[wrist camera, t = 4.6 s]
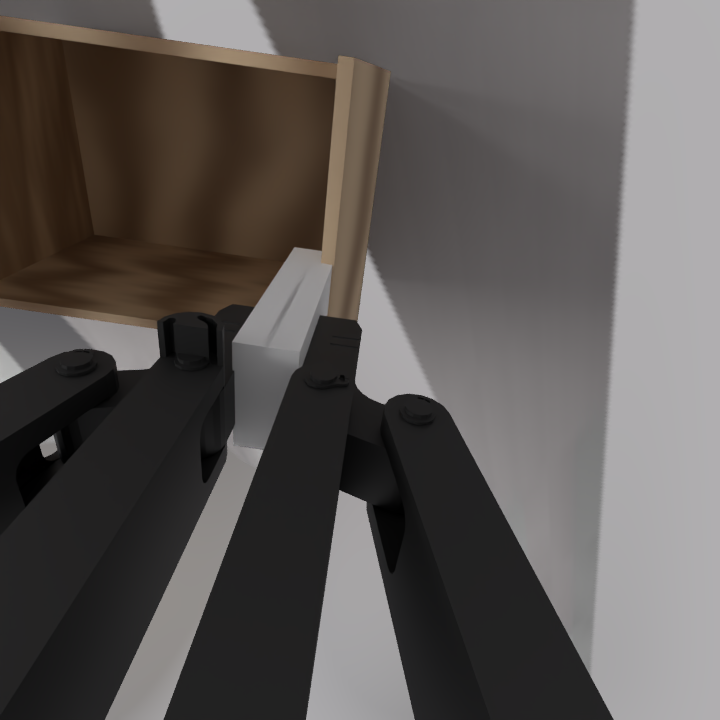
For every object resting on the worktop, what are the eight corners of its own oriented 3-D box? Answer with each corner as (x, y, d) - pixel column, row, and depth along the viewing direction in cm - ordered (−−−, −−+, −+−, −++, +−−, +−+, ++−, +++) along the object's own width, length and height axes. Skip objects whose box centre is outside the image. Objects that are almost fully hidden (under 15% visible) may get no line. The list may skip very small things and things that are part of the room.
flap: (304, 457, 18) (314, 459, 18) (338, 55, 11) (354, 57, 11) (344, 356, 25) (352, 358, 25) (380, 70, 18) (390, 71, 18)
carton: (92, 238, 35) (-35, 301, 25) (57, 28, 29) (-137, -4, 18) (356, 276, 35) (337, 355, 25) (381, 75, 29) (370, 68, 18)
